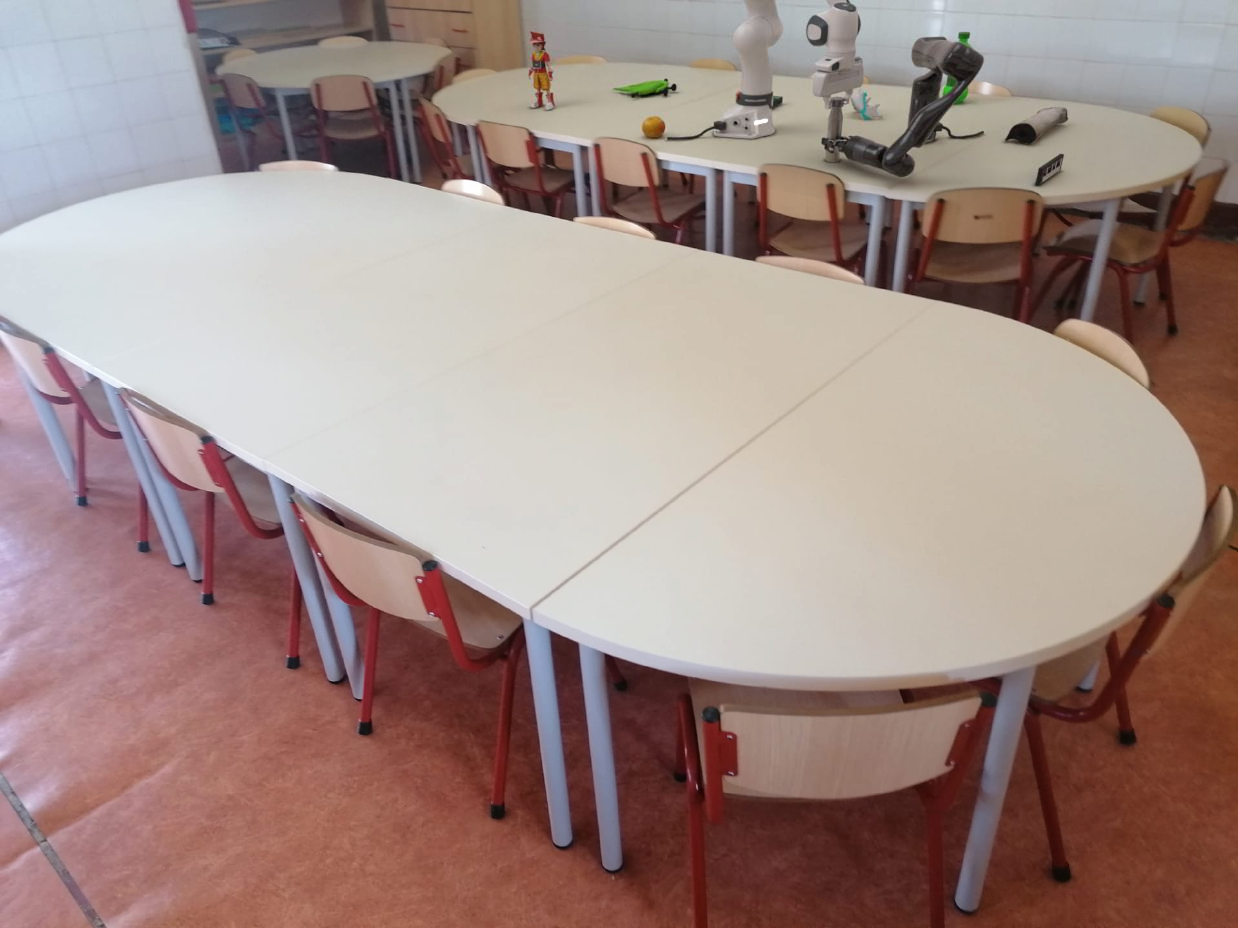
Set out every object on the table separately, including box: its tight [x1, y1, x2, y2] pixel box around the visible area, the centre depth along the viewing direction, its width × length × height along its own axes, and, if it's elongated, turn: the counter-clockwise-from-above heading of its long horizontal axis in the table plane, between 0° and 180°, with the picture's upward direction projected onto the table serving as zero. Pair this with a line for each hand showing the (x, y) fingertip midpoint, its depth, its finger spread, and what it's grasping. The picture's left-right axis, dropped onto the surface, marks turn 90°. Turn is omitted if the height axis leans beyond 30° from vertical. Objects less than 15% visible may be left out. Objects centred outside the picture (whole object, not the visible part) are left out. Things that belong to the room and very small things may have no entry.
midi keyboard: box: [1035, 153, 1065, 186], centre depth 273 cm, size 18×1×5 cm, turn 138°
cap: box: [829, 96, 845, 108], centre depth 290 cm, size 4×4×2 cm
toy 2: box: [612, 78, 677, 99], centre depth 396 cm, size 28×5×30 cm
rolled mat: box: [1004, 106, 1069, 145], centre depth 312 cm, size 30×9×10 cm
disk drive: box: [772, 95, 784, 109], centre depth 364 cm, size 10×3×15 cm
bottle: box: [824, 107, 844, 163], centre depth 296 cm, size 5×5×19 cm
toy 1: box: [527, 31, 556, 111], centre depth 374 cm, size 12×9×30 cm
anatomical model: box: [849, 88, 885, 120], centre depth 343 cm, size 15×10×10 cm
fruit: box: [641, 115, 666, 138], centre depth 334 cm, size 8×8×8 cm
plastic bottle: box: [942, 31, 973, 104], centre depth 348 cm, size 10×10×25 cm
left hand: (836, 106), depth 291 cm, fingers open, 7 cm apart
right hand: (828, 139), depth 299 cm, fingers closed on bottle, 4 cm apart
